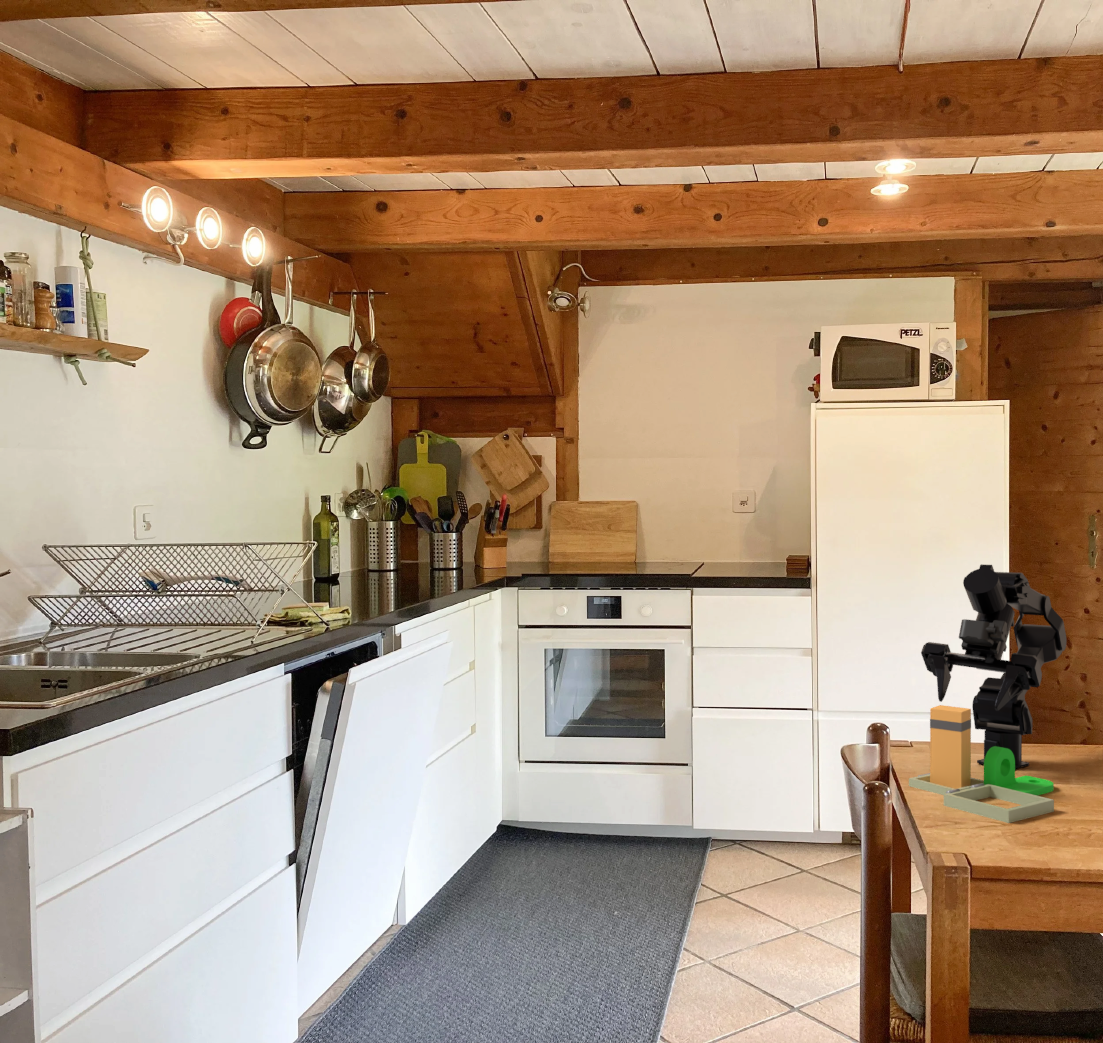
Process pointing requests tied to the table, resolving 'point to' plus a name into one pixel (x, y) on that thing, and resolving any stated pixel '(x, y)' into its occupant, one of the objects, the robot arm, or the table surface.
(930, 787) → the lid
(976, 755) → the table surface
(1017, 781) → the mechanical part
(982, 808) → the case
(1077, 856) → the table surface
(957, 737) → the block
